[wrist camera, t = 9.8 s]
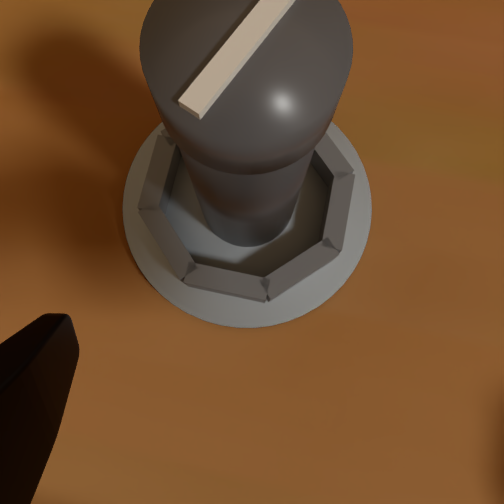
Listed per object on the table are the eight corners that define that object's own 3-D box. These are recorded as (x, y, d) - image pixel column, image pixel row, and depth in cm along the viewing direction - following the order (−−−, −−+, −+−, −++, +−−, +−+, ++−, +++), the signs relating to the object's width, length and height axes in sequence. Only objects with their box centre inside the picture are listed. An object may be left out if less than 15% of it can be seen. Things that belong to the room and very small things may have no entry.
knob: (260, 270, 21) (275, 178, 9) (177, 213, 22) (91, 58, 10) (316, 190, 22) (396, 13, 10) (236, 138, 23) (221, -88, 11)
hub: (347, 352, 21) (358, 354, 19) (96, 298, 22) (79, 293, 19) (384, 120, 24) (398, 98, 22) (160, 76, 24) (152, 50, 22)
